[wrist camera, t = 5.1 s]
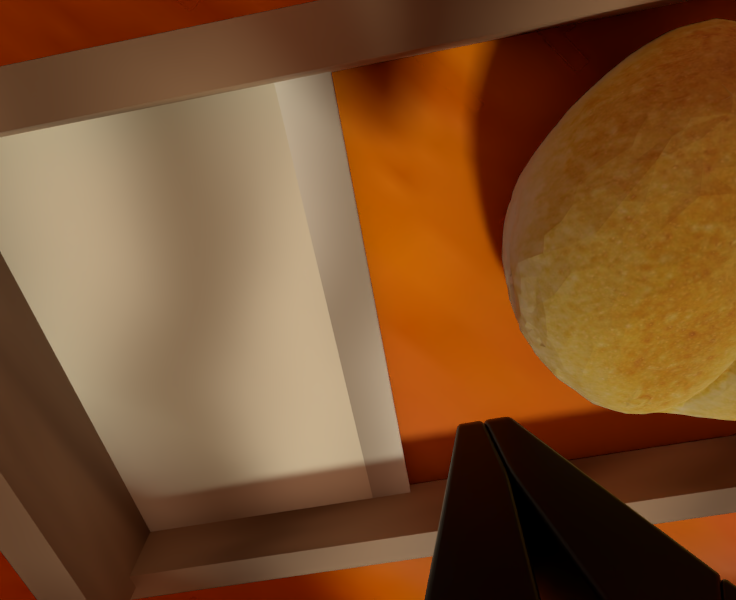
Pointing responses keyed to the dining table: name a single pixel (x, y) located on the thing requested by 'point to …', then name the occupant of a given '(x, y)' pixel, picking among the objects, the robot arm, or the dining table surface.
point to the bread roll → (637, 232)
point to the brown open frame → (226, 311)
